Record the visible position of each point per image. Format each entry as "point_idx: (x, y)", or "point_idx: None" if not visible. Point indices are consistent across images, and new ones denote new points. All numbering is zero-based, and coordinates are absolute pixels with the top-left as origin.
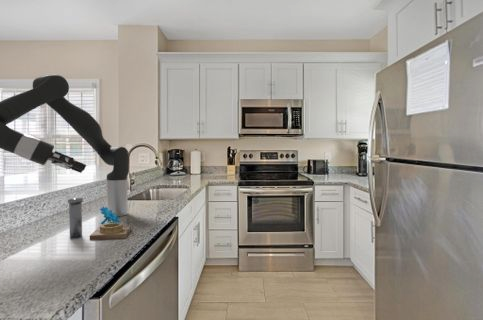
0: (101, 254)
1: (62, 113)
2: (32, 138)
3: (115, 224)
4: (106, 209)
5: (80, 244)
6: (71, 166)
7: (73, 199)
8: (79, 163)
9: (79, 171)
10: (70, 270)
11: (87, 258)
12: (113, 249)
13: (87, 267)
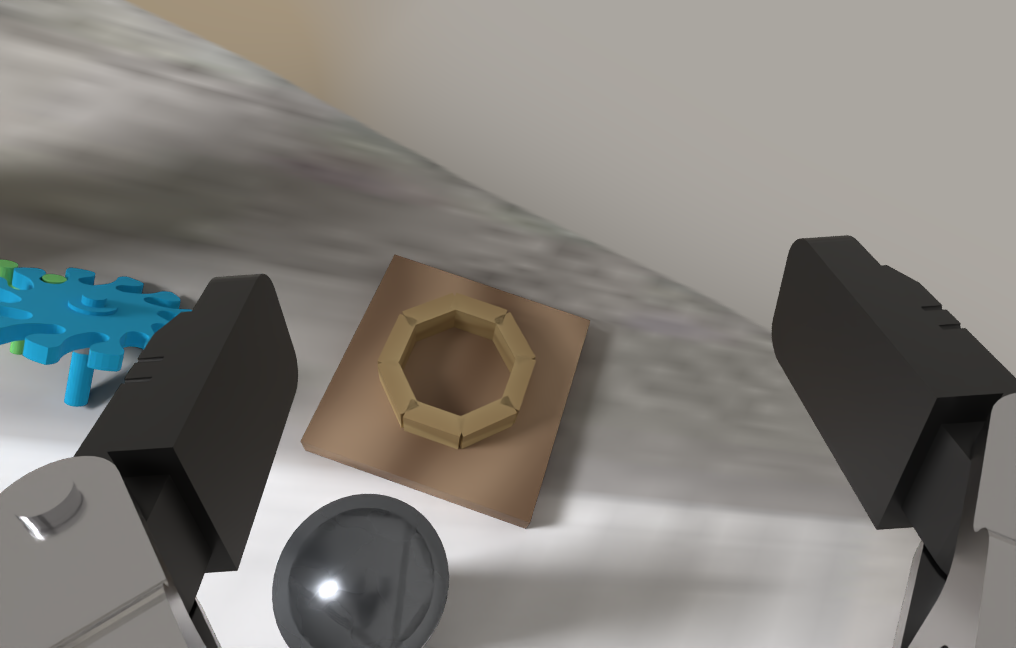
0: None
1: None
2: None
3: (414, 332)
4: (3, 310)
5: (611, 593)
6: (917, 553)
7: (418, 603)
8: (965, 340)
9: (289, 397)
10: None
11: (909, 567)
12: (786, 425)
13: None
